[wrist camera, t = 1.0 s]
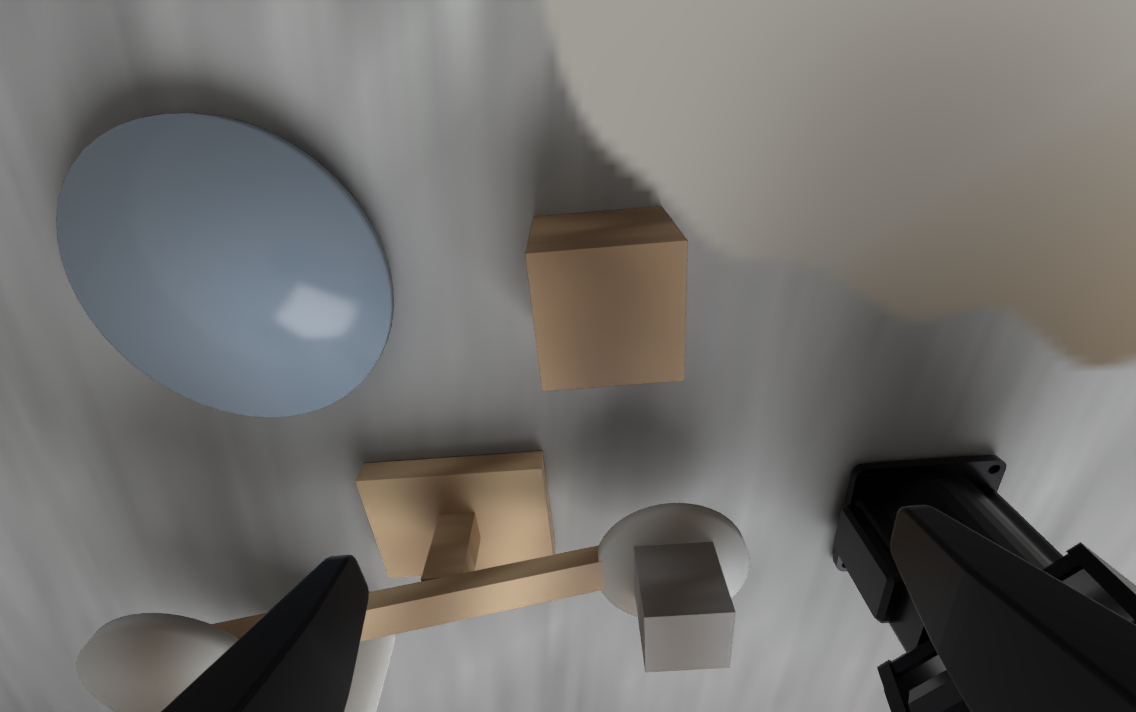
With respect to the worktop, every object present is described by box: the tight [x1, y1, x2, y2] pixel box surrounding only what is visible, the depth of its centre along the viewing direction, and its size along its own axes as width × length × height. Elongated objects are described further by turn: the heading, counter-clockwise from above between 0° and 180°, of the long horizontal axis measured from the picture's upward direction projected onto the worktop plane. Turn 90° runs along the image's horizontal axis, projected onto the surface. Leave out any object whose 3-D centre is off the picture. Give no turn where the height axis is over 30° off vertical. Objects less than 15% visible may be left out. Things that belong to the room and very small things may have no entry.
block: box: [525, 206, 688, 391], centre depth 18 cm, size 4×4×4 cm
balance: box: [76, 451, 750, 712], centre depth 22 cm, size 24×6×8 cm, turn 95°
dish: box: [56, 113, 394, 417], centre depth 19 cm, size 11×11×1 cm
